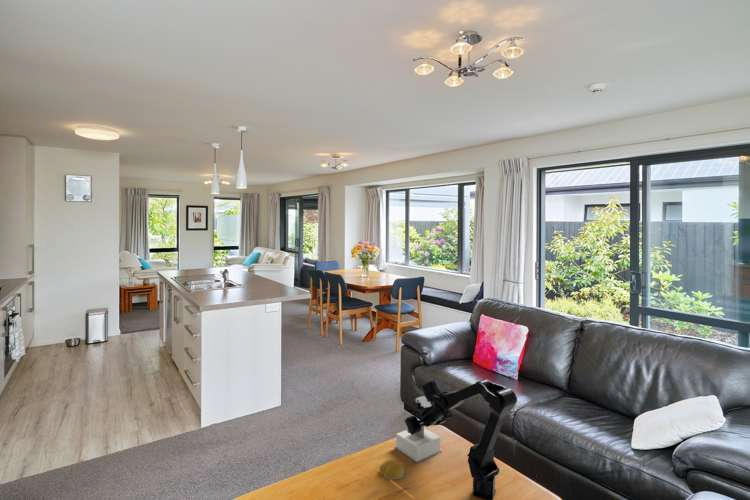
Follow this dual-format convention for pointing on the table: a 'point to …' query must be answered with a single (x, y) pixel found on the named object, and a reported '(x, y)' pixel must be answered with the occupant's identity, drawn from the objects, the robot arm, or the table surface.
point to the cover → (418, 444)
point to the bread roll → (391, 470)
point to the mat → (420, 460)
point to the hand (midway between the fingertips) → (416, 428)
